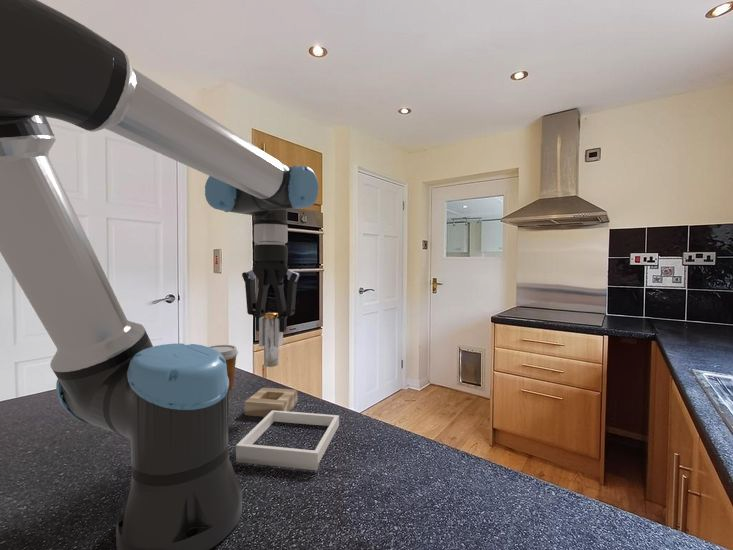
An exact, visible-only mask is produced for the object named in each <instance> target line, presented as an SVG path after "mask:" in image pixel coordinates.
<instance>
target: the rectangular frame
mask: <svg viewBox="0 0 733 550" xmlns="http://www.w3.org/2000/svg"><path fill="white" fill-rule="evenodd" d="M274 422H275V423H276V422H277V423H279V422H280V423H288V424H289V423H291V424H300V425H312V426H326V427H327V429H326V431H325V432H324V434H323V436H322V438H321V439H320V441H319V442H318V444H317V446H316V448H315V449H314V450H313V449H312V450H311V449H304V448H303V449H301V448H294V447H293V448H292V447H282V446H272V445H264V444H263V445H262V444H260V445H259V444H254V443H255V442H256V441H257V440H258V439H259V438H260V437H261V436H262V435H263V434H264V433H265V431H267V429H268V428H269V427H270V426H271V425H272V424H273V423H274ZM339 426H340V415H336V414H325V413H312V412H300V411H299V412H298V411H289V412H288V411H276V410H272V411H271V412H270V413H269V414H268V415H267V416H266V417H263V419H262V420H260V421H259V423H258V424H256V425H255V426H254V427H253V428H252V429H251V430H250V431H249V432H248V433H247V434H246V435H245V436H244V437H243V438H242V439H241V440H240V441H239V442H237V444H236V445H235V463H243V464H251V465H253V464H254V465H259V466H270V467H281V468H289V469H298V470H299V469H300V470H307V471H308V470H310V471H319V469H320V467H321V465H322V463H320V462H321V460H322V458H323V456H324V454H325V453H326V451H327V450H328V446H329V445H330V443H331V441H332V439H333V437H334V436H335V434H336V432H337V430H338V428H339Z"/></svg>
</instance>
